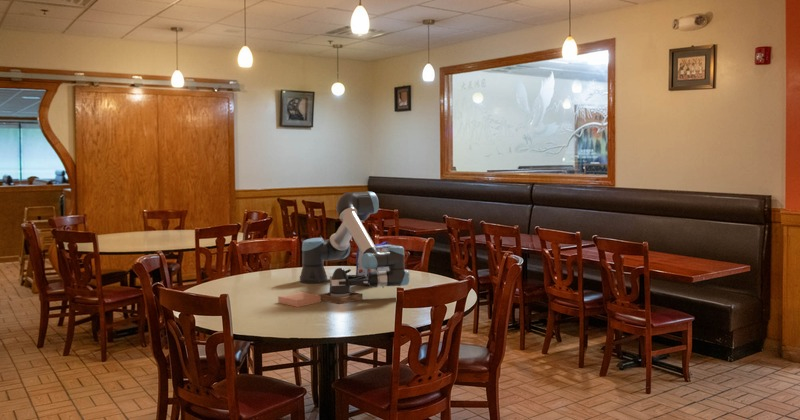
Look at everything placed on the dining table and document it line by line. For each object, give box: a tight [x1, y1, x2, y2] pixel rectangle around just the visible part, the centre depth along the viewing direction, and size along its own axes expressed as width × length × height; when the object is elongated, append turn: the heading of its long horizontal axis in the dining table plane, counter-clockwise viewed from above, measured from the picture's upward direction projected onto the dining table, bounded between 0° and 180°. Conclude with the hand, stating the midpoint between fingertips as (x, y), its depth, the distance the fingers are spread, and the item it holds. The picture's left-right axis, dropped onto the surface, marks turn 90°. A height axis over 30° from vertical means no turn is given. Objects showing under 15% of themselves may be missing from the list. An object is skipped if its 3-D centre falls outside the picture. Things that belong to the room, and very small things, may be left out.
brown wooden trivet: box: [317, 291, 364, 305], centre depth 325 cm, size 15×15×2 cm
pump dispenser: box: [328, 267, 352, 298], centre depth 324 cm, size 10×10×15 cm
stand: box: [277, 291, 322, 308], centre depth 319 cm, size 14×14×3 cm
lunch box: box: [355, 241, 396, 286], centre depth 366 cm, size 28×10×22 cm, turn 143°
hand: (330, 281), depth 323 cm, fingers closed on pump dispenser, 9 cm apart
